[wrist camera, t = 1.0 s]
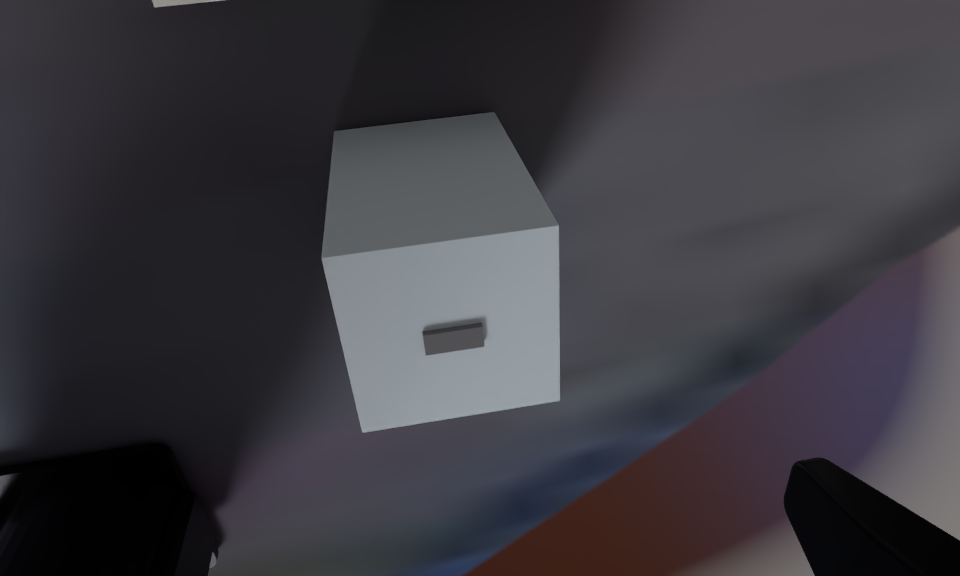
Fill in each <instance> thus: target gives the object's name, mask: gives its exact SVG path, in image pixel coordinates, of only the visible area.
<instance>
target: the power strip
mask: <svg viewBox="0 0 960 576" xmlns="http://www.w3.org/2000/svg"><path fill="white" fill-rule="evenodd" d="M213 1H223V0H152V2H153V5H154V7H164V6H174V5H184V4H194V3H203V2H213Z"/></svg>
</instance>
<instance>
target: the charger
mask: <svg viewBox="0 0 960 576" xmlns="http://www.w3.org/2000/svg"><path fill="white" fill-rule="evenodd" d="M321 259H322V263H323V267H324V272H325V276H326V280H327V284H328V289H329V293H330V297H331V301H332V306H333V310H334V314H335V318H336V323H337V327H338V331H339V335H340V340H341V344H342V348H343V352H344V357H345V361H346V365H347V369H348V374H349V378H350V382H351V386H352V391H353V395H354V399H355V403H356V408H357V412H358V416H359V420H360V425H361V429H362V433H364V432H371V431H377V430H383V429H389V428H395V427H401V426H407V425H414V424H420V423H426V422H432V421H438V420H444V419H451V418H457V417H463V416H469V415H475V414H481V413H488V412H494V411H500V410H506V409H512V408H518V407H524V406H531V405H537V404H543V403H549V402H555V401H560V338H559V225H558V223H557V222H556V220H555V218H554V216H553V214H552V213H551V211H550V209H549V207H548V206H547V204H546V202H545V200H544V199H543V197H542V195H541V193H540V192H539V190H538V188H537V186H536V184H535V183H534V181H533V179H532V177H531V176H530V174H529V172H528V170H527V169H526V167H525V165H524V163H523V161H522V160H521V158H520V156H519V154H518V153H517V151H516V149H515V147H514V146H513V144H512V142H511V140H510V139H509V137H508V135H507V133H506V131H505V130H504V128H503V126H502V124H501V123H500V121H499V119H498V117H497V116H496V114H495V112H489V113H481V114H473V115H464V116H456V117H448V118H439V119H431V120H423V121H414V122H406V123H398V124H389V125H381V126H373V127H364V128H356V129H348V130H339V131H334V137H333V147H332V157H331V167H330V177H329V187H328V197H327V207H326V217H325V227H324V236H323V246H322V256H321Z"/></svg>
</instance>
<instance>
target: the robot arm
mask: <svg viewBox="0 0 960 576" xmlns="http://www.w3.org/2000/svg"><path fill="white" fill-rule="evenodd" d="M152 457H157V458H160V459H155V458H152ZM784 508H785V511H786V514H787V516H788V518H789V521H790V523H791V525H792V527H793V529H794V531H795V534H796V536H797V538H798V540H799V542H800V545H801V547H802V549H803V551H804V553H805V555H806V557H807V560H808V562H809V564H810V566H811V568H812V570H813V573H814V575H815V576H960V540H958V539H956V538H955V537H953V536H951V535H950V534H948V533H946V532H945V531H943V530H942V529H940V528H938V527H936V526H935V525H933V524H932V523H930V522H929V521H927V520H925V519H924V518H922V517H920V516H919V515H917V514H915V513H914V512H912V511H910V510H909V509H907V508H906V507H904V506H902V505H901V504H899V503H897V502H896V501H894V500H893V499H891V498H889V497H888V496H886V495H884V494H883V493H881V492H879V491H878V490H876V489H875V488H873V487H871V486H869V485H868V484H866V483H865V482H863V481H862V480H860V479H858V478H857V477H855V476H853V475H852V474H850V473H849V472H847V471H845V470H844V469H842V468H840V467H839V466H837V465H835V464H834V463H832V462H831V461H829V460H827V459H824V458H812V459H807V460H801V461H797V462H796V463H794V464H793V466H792V469H791V472H790V476H789V480H788V484H787V487H786V491H785V495H784ZM215 539H216V534H215V532H214V530H213V528H212V525H211V523H210V521H209V519H208V517H207V515H206V512H205V510H204V508H203V506H202V504H201V501H200V499H199V497H198V495H197V494H196V493H195V492H194V491H193V490H192V489H190V488H189V486H188V484H187V482H186V480H185V478H184V475H183V473H182V471H181V469H180V467H179V465H178V463H177V460H176V458H175V456H174V454H173V452H172V450H171V449H170V448H169V447H168V446H166V445H164V444H160V443H151V444H145V445H138V446H132V447H126V448H120V449H113V450H107V451H101V452H95V453H88V454H82V455H76V456H70V457H63V458H57V459H51V460H45V461H38V462H32V463H26V464H20V465H14V466H7V467H1V468H0V576H208V571H209V568H212V567H213V566H215V564H216V562H217V558H218V549H217V546H216V544H215Z"/></svg>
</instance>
